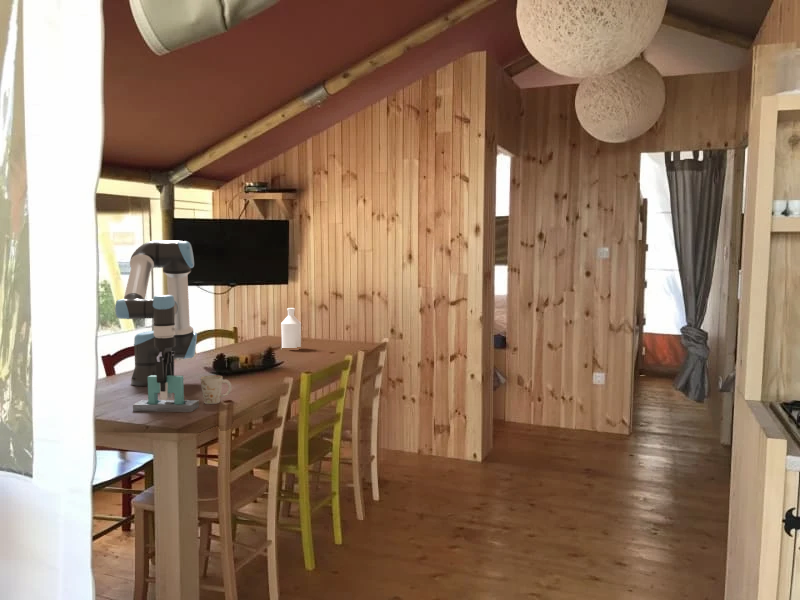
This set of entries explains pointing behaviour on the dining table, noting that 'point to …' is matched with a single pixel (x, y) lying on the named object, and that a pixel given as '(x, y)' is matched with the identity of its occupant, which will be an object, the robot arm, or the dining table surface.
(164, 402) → the block
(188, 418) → the dining table surface
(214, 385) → the mug
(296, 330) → the bottle
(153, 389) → the panel
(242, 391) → the dining table surface
